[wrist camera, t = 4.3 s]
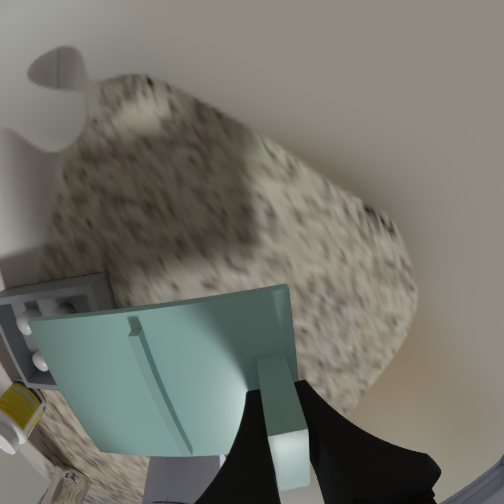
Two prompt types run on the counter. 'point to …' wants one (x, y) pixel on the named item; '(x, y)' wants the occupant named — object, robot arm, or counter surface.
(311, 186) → the counter surface
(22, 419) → the supplement bottle
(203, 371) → the lid
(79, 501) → the beer glass
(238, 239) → the counter surface
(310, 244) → the counter surface
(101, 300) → the tub
